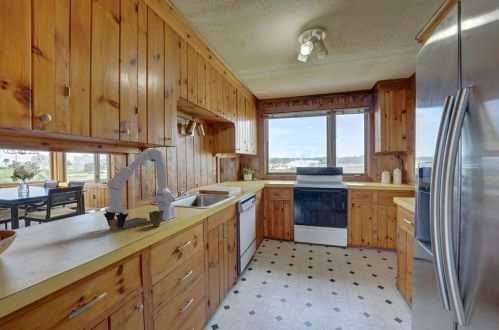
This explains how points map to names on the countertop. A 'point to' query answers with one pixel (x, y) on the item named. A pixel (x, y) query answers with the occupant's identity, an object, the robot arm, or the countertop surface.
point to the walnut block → (114, 225)
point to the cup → (156, 217)
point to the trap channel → (134, 222)
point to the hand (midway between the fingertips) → (116, 226)
